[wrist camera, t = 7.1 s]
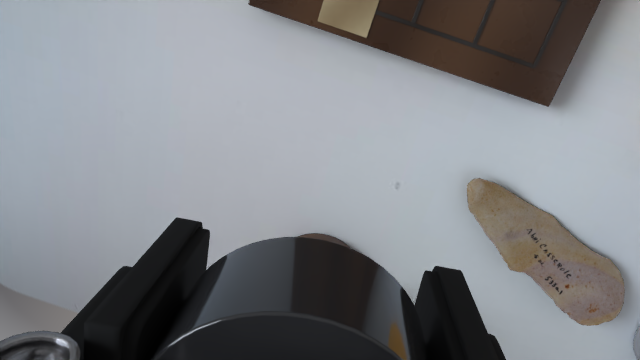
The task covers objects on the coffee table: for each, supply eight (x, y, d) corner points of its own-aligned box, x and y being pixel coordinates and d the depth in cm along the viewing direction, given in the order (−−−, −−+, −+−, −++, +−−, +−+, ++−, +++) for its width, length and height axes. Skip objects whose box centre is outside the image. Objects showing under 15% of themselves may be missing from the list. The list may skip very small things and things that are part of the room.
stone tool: (437, 209, 34) (582, 332, 36) (445, 213, 33) (595, 341, 35) (484, 153, 34) (626, 280, 36) (494, 154, 33) (642, 286, 35)
